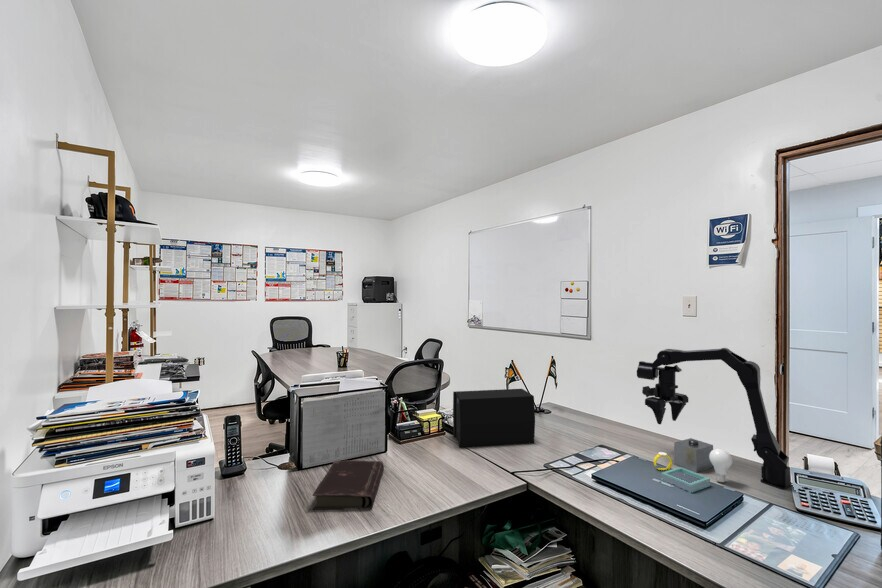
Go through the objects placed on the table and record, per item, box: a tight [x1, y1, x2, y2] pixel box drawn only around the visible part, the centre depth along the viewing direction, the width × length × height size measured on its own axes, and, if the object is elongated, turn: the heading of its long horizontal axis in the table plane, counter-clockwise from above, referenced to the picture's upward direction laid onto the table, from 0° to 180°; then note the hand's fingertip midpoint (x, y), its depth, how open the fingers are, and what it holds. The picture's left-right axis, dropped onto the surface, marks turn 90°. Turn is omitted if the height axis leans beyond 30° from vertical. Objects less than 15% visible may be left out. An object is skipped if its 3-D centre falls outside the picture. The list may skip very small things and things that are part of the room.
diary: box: [312, 459, 385, 511], centre depth 131 cm, size 19×25×5 cm
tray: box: [660, 466, 711, 494], centre depth 134 cm, size 10×10×2 cm
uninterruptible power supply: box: [452, 388, 536, 449], centre depth 176 cm, size 16×34×20 cm, turn 99°
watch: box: [653, 451, 673, 472], centre depth 144 cm, size 6×3×6 cm, turn 90°
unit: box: [673, 437, 714, 474], centre depth 148 cm, size 8×10×9 cm
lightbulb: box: [709, 448, 733, 484], centre depth 135 cm, size 6×6×11 cm
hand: (666, 422), depth 156 cm, fingers open, 9 cm apart
